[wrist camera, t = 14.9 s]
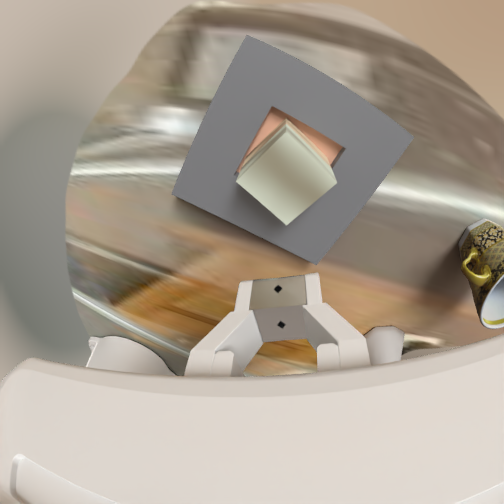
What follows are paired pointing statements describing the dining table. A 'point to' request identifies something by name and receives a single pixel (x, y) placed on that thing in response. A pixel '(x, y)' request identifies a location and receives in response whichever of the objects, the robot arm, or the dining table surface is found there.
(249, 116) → the pocket plate
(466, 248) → the ceramic cup
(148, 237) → the dining table surface
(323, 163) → the faceted block
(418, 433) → the robot arm
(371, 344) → the flask
